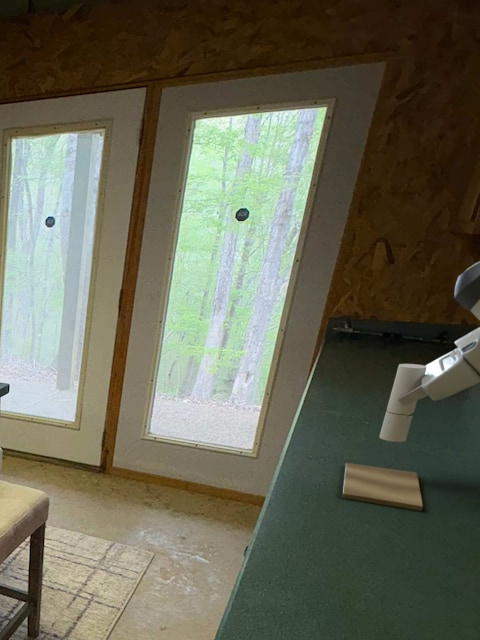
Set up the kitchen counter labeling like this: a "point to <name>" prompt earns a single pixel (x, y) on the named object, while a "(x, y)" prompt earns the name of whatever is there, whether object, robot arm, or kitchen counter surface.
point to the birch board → (382, 486)
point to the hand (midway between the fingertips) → (400, 399)
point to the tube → (396, 413)
